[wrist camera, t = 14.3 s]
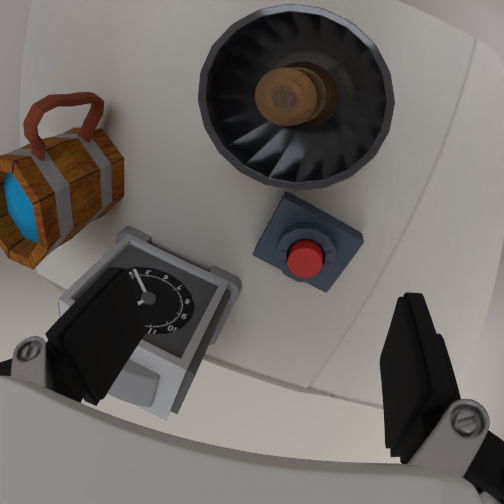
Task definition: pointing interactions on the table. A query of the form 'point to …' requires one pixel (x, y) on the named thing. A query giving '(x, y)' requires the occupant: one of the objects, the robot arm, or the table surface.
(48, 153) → the mug
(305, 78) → the mortar and pestle
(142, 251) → the alarm clock
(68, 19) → the table surface
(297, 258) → the button
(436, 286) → the table surface
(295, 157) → the grey open cylinder
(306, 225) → the housing
